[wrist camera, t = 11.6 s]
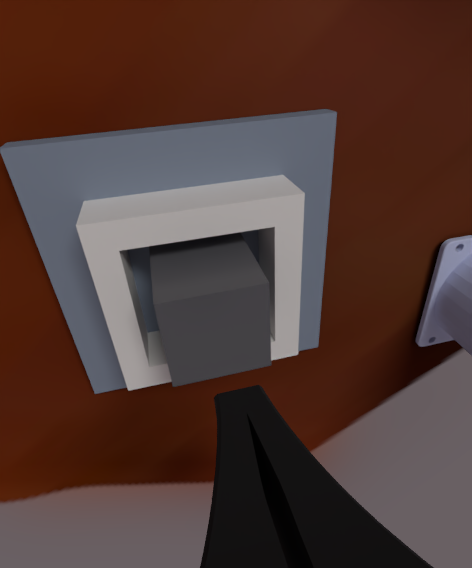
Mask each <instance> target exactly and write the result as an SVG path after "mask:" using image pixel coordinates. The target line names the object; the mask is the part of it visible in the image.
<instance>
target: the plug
mask: <svg viewBox="0 0 472 568" xmlns="http://www.w3.org/2000/svg"><path fill="white" fill-rule="evenodd" d="M149 253H150V266H151V279H152V291H153V304H154V309H155V313H156V317H157V321H158V326H159V330H160V334H161V338H162V343H163V347H164V351H165V355H166V360H167V364H168V368H169V372H170V376H171V381H172V385H173V387H176V386H180V385H185V384H189V383H194V382H198V381H203V380H207V379H212V378H216V377H221V376H225V375H230V374H234V373H239V372H243V371H248V370H252V369H257V368H261V367H266V366H270V365H271V334H270V294H269V282H268V280H267V278H266V276H265V275H264V273H263V271H262V269H261V268H260V266H259V264H258V262H257V261H256V259H255V257H254V255H253V254H252V252H251V250H250V249H249V247H248V245H247V243H246V242H245V240H244V238H243V236H242V235H241V233H240V232H238V233H232V234H225V235H219V236H212V237H206V238H199V239H193V240H187V241H180V242H174V243H167V244H161V245H154V246H149Z"/></svg>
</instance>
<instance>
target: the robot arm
mask: <svg viewBox="0 0 472 568" xmlns="http://www.w3.org/2000/svg"><path fill="white" fill-rule="evenodd" d="M451 340H455V341H456V342H457V343H459V344H460V345H461V346H462V347H463V348H464V349H465V350H466V351H467V352H468V353H469V354H471V355H472V235H469V236H463V237H458V238H452V239H448V240H446V241H445V242H443V244H442V245H441V247H440V250H439V254H438V258H437V261H436V265H435V269H434V273H433V276H432V280H431V284H430V288H429V291H428V295H427V299H426V303H425V306H424V310H423V314H422V317H421V321H420V325H419V329H418V332H417V336H416V343H417V344H418V345H419V346H421V347H424V346H429V345H433V344H438V343H442V342H447V341H451ZM214 400H215V408H216V415H217V454H216V470H215V479H214V487H213V496H212V504H211V511H210V518H209V524H208V530H207V535H206V541H205V546H204V552H203V557H202V562H201V566H200V568H433V567H432V566H431V565H430V564H428V563H427V562H426V561H424V560H423V559H422V558H421V557H420V556H418V555H417V554H416V553H415V552H414V551H412V550H411V549H410V548H409V547H408V546H406V545H405V544H404V543H403V542H402V541H401V540H399V539H398V538H397V537H396V536H395V535H393V534H392V533H391V532H390V531H389V530H387V529H386V528H385V527H384V526H383V525H382V524H381V523H379V522H378V521H377V520H376V519H375V518H374V517H373V516H372V515H371V514H370V513H369V512H367V511H366V510H365V509H364V508H363V507H362V506H361V505H360V504H359V503H358V502H357V501H356V500H355V499H354V498H352V496H351V495H350V494H348V492H347V491H346V490H345V489H344V488H342V486H341V485H340V484H339V483H338V482H337V481H336V480H335V479H334V478H333V477H332V476H331V475H330V474H329V473H328V472H327V471H326V470H325V468H324V467H323V466H322V465H321V464H320V463H319V462H318V461H317V460H316V459H315V457H314V456H313V455H312V454H311V453H310V452H309V450H308V449H307V448H306V447H305V446H304V444H303V443H302V442H301V441H300V440H299V438H298V437H297V436H296V435H295V433H294V432H293V431H292V430H291V428H290V427H289V426H288V425H287V423H286V422H285V421H284V419H283V418H282V416H281V415H280V414H279V412H278V411H277V410H276V408H275V407H274V405H273V404H272V402H271V401H270V399H269V398H268V396H267V395H266V393H265V391H264V390H263V388H262V387H261V386H259V385H256V386H252V387H247V388H243V389H238V390H233V391H229V392H224V393H220V394H217V395H216V396H215V397H214Z"/></svg>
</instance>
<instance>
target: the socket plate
mask: <svg viewBox="0 0 472 568" xmlns="http://www.w3.org/2000/svg"><path fill="white" fill-rule="evenodd" d="M336 118H337V112H335V111H332V110H329V109H321V110H311V111H302V112H292V113H283V114H273V115H264V116H254V117H245V118H235V119H226V120H217V121H207V122H198V123H188V124H179V125H169V126H160V127H150V128H141V129H131V130H122V131H112V132H103V133H93V134H84V135H74V136H65V137H56V138H46V139H37V140H27V141H18V142H8V143H6V144H4V145H3V146H2V147H0V152H1V155H2V158H3V160H4V163H5V165H6V168H7V170H8V173H9V175H10V178H11V181H12V183H13V186H14V188H15V191H16V193H17V196H18V198H19V201H20V203H21V206H22V209H23V211H24V214H25V216H26V219H27V221H28V224H29V226H30V229H31V232H32V234H33V237H34V239H35V242H36V244H37V247H38V249H39V252H40V255H41V257H42V260H43V262H44V265H45V267H46V270H47V272H48V275H49V278H50V280H51V283H52V285H53V288H54V290H55V293H56V295H57V298H58V301H59V303H60V306H61V308H62V311H63V313H64V316H65V318H66V321H67V324H68V326H69V329H70V331H71V334H72V336H73V339H74V341H75V344H76V347H77V349H78V352H79V354H80V357H81V359H82V362H83V364H84V367H85V370H86V372H87V375H88V377H89V380H90V382H91V385H92V387H93V390H94V393H95V394H97V393H102V392H107V391H111V390H116V389H121V388H126V387H127V388H128V391H130V390H134V389H139V388H144V387H148V386H153V385H158V384H163V383H167V382H172V381H171V376H170V372H169V368H168V364H167V360H166V355H165V351H164V347H163V343H162V338H161V334H160V330H159V326H158V321H157V317H156V313H155V309H154V304H153V291H152V279H151V266H150V253H149V246H154V245H161V244H167V243H174V242H180V241H187V240H193V239H199V238H206V237H212V236H219V235H225V234H232V233H238V232H240V233H241V235H242V236H243V238H244V240H245V242H246V243H247V245H248V247H249V249H250V250H251V252H252V254H253V255H254V257H255V259H256V261H257V262H258V264H259V266H260V268H261V269H262V271H263V273H264V275H265V276H266V278H267V280H268V282H269V294H270V334H271V360H275V359H280V358H285V357H290V356H294V355H298V351H301V350H306V349H310V348H315V347H318V341H319V329H320V317H321V304H322V292H323V279H324V267H325V254H326V242H327V229H328V217H329V205H330V192H331V180H332V167H333V155H334V142H335V130H336Z"/></svg>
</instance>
